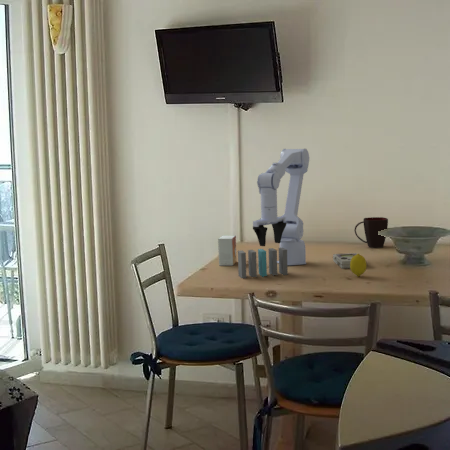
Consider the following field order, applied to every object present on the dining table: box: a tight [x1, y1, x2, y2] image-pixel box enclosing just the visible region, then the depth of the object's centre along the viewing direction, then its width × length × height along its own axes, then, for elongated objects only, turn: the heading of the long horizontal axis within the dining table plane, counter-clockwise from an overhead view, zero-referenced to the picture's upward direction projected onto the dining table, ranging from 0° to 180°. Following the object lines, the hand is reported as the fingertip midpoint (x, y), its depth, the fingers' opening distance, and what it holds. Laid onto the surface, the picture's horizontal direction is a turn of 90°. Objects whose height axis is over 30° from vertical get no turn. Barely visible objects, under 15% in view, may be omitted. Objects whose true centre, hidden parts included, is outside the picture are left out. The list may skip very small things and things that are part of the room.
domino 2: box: [247, 249, 258, 278], centre depth 241 cm, size 2×5×9 cm, turn 13°
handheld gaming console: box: [332, 252, 358, 270], centre depth 256 cm, size 9×4×15 cm
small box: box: [217, 235, 238, 266], centre depth 265 cm, size 8×6×10 cm
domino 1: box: [237, 249, 247, 279], centre depth 240 cm, size 2×5×9 cm, turn 13°
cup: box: [354, 216, 389, 249], centre depth 290 cm, size 10×14×12 cm
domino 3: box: [267, 247, 278, 277], centre depth 243 cm, size 2×5×9 cm, turn 13°
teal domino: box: [257, 248, 268, 278], centre depth 242 cm, size 2×5×9 cm, turn 12°
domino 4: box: [278, 247, 288, 276], centre depth 244 cm, size 2×5×9 cm, turn 13°
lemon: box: [349, 253, 367, 277], centre depth 235 cm, size 6×6×8 cm
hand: (270, 244), depth 245 cm, fingers open, 7 cm apart
